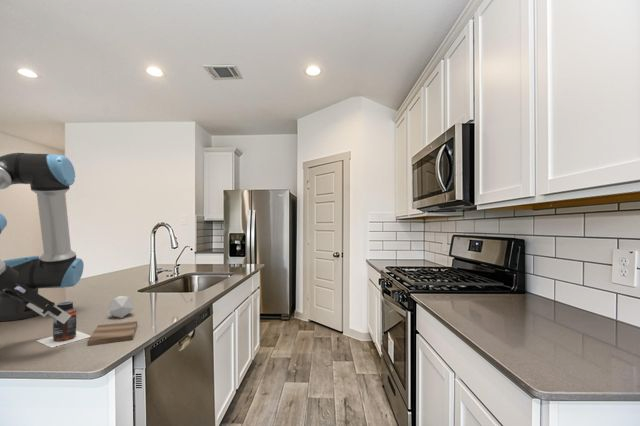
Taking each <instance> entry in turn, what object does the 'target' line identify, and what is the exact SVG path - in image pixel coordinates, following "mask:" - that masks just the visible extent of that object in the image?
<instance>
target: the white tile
mask: <svg viewBox="0 0 640 426" xmlns="http://www.w3.org/2000/svg"><path fill="white" fill-rule="evenodd" d="M90 336H91V334H90V335H89V334H87V333H84V332H82V331H79V330H76V336H75V337H73V338H71V339H68V340H63V341H55V340H53V335H52V336H48V337H44V338H40V339H37V340H35V341H36V342H38V343H40V344H42V345H44V346H47V347H48V348H51V349H52V348H56V346H57V347H60V346H63V345H67V344H70V343H74V342H78V341H81V340H82V341H83V340H84V339H89V338H90Z"/></svg>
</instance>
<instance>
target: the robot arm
mask: <svg viewBox="0 0 640 426" xmlns="http://www.w3.org/2000/svg"><path fill="white" fill-rule="evenodd" d="M73 165H74V164H73V163H72V161H71V160H70V159H69V158H68V157H67V156H65V155H62V154H56V153H55V154H54V153H35V152H34V153H33V152H32V153H31V152H30V153H29V152H12V153H8V154H4V155H1V156H0V190H4V189H7V188H9V187H10V186H12V185H30V190H31V192H33V193H34V194H36V199H37V207H38V215H39V225H40V233H41V240H42V248H43V249H42V250H43V254H41V255H40V256H39V255H32V256H31V255H30V256H25V257H24V256H23V257H18V258H17V257H16V258H12V259H11V258H10V259H6V260H1V259H0V322H9V321H18V320H25V319H29V318H33V317H36V316H42V317H44V318H45V317H46V316H47V315H48V316H51V318H52V319H53V318H55V319H57V320H58V321H60V322H61V323H63V324H64V323H65V322H66V321H67V320H68V319H69V318H70V317H71V315H69V314H68V313H66V312H65V311H63V310H62V309H60V308H59V307H57V305H56V304H55V302H54V301H51V300H49V299H48V298H46V297H45V296H42V295H41V294H39V289H59V288H61V289H64V288H71V287H75V286H76V285H77V284H78V283H79V282H80V280H81V278H82V275H83V273H84V268H85V267H84V265H85V264H84V261H83V259H82V258H79V257H78V258H77V253H76V252H75V251H73V250H72V248H71V238H70V236H71V235H70V225H69V218H68V217H69V216H68V207H67V197H66V196H67V195H66V193H67V192H68V191H70V188H71V186H72V185H73V184H74V183H75V178H76V171H75V167H74V166H73ZM7 225H8V221H7V219H6V217H5V216H4V214H3V213H1V212H0V235H1V234H2V232H3V231H4V229H5V228H6V227H7Z"/></svg>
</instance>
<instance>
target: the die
mask: <svg viewBox="0 0 640 426" xmlns="http://www.w3.org/2000/svg"><path fill="white" fill-rule="evenodd" d="M132 301H133V300H131V297H130V296H124V295H119V296H116V297H115V298H113V299H112V300H111V301H110V302H109V303H108V304H107V305H108V313H109V315H111V316H112V317H114V318H119V319H123V318H124V317H126V316H128V314H129V315H130V312H132V311H133V310H134V305H133V302H132Z"/></svg>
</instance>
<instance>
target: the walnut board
mask: <svg viewBox="0 0 640 426" xmlns="http://www.w3.org/2000/svg"><path fill="white" fill-rule="evenodd" d="M137 327H138V320H131V321H126V322H115V323H109V324H107V323H106V324H98V325H97V326H96V328H95V329H94V331H93V332H92V333H91V334H90V337H89V338H87V346H88V347H89V346H95V345H104V344H110V343H118V342H119V343H120V342H127V341H133V339H134V337H135V333H136V330H137Z"/></svg>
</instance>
